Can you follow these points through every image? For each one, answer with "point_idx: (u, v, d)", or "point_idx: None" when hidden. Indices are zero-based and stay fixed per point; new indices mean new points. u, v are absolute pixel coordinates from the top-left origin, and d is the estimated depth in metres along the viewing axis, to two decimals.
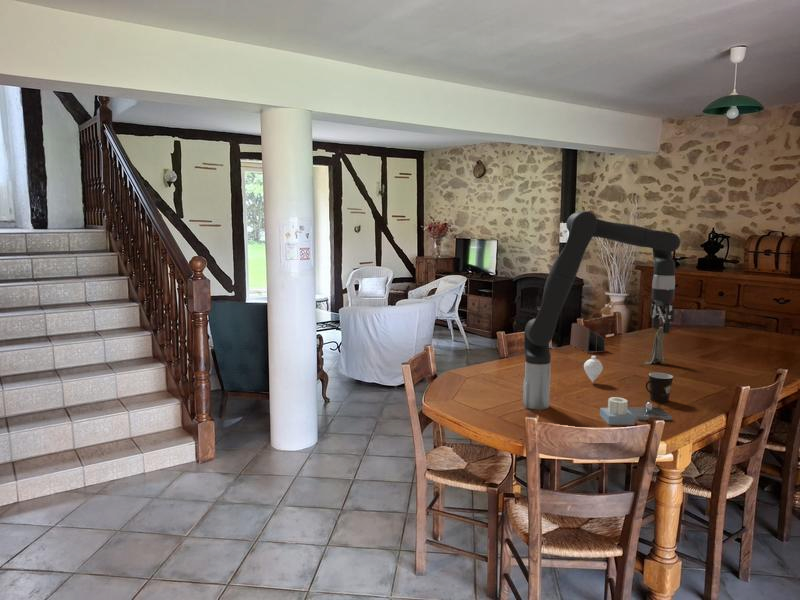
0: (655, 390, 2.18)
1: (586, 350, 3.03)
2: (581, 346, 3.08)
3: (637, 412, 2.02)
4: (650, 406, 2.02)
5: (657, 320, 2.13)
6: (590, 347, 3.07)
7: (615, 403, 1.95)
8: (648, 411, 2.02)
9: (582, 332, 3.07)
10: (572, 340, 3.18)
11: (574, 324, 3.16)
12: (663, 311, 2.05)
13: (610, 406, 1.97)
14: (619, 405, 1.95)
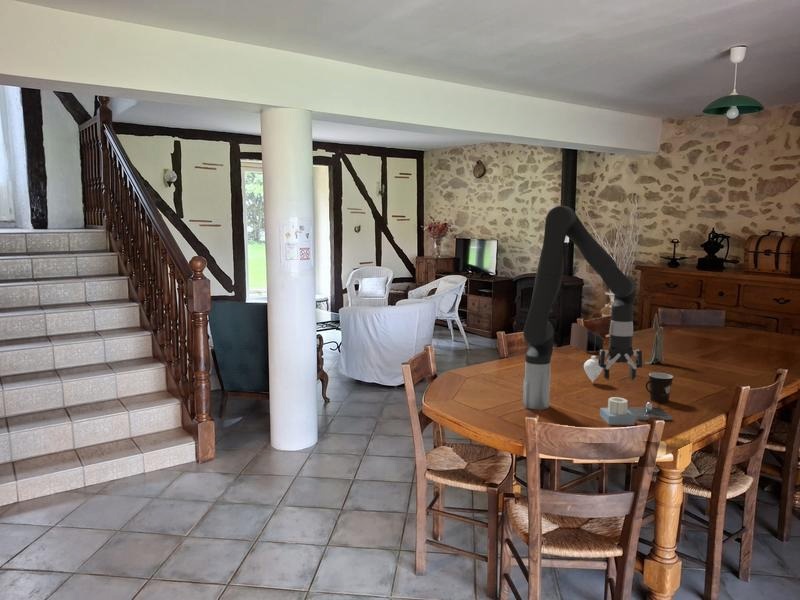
0: (655, 390, 2.18)
1: (585, 350, 3.03)
2: (580, 346, 3.08)
3: (637, 412, 2.02)
4: (650, 406, 2.02)
5: None
6: (589, 347, 3.06)
7: (615, 403, 1.95)
8: (648, 411, 2.02)
9: (581, 332, 3.07)
10: (572, 340, 3.18)
11: (574, 324, 3.16)
12: (629, 357, 1.95)
13: (610, 406, 1.97)
14: (619, 405, 1.95)
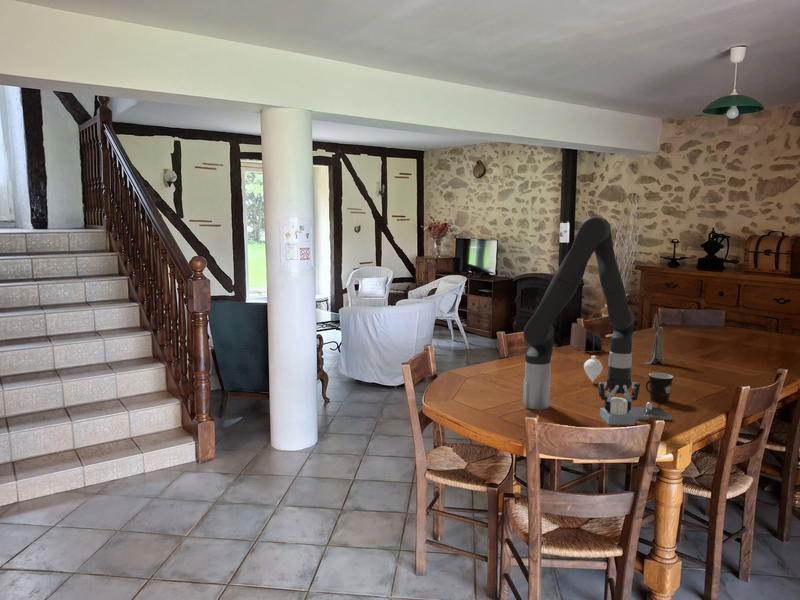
0: (655, 390, 2.18)
1: (583, 350, 3.03)
2: (579, 346, 3.08)
3: (637, 412, 2.02)
4: (650, 406, 2.02)
5: None
6: (588, 347, 3.06)
7: (615, 403, 1.95)
8: (648, 411, 2.02)
9: (580, 332, 3.07)
10: (572, 340, 3.19)
11: (574, 324, 3.16)
12: None
13: (610, 406, 1.97)
14: (619, 405, 1.95)
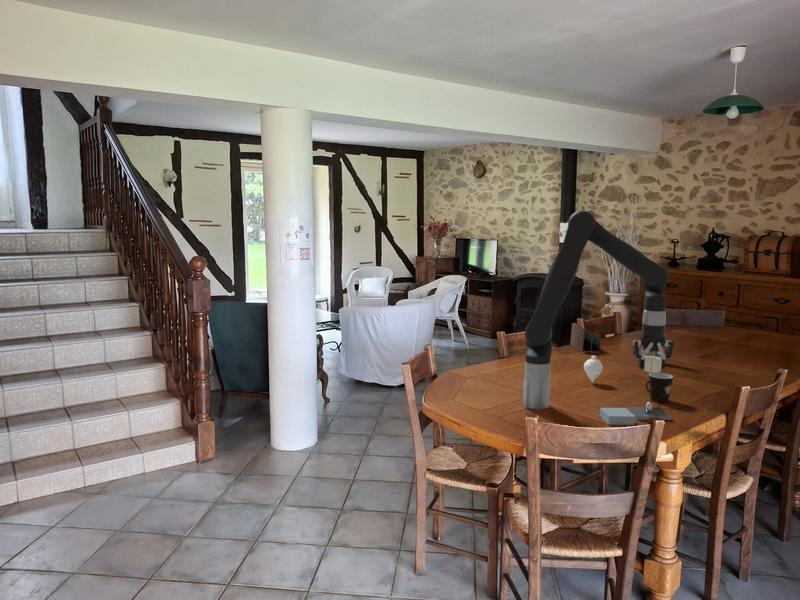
0: (655, 390, 2.18)
1: (581, 350, 3.03)
2: (578, 346, 3.09)
3: (637, 412, 2.02)
4: (650, 406, 2.02)
5: None
6: (586, 347, 3.06)
7: (649, 361, 1.98)
8: (648, 411, 2.02)
9: (579, 332, 3.08)
10: (572, 340, 3.19)
11: (573, 324, 3.17)
12: None
13: (644, 364, 2.00)
14: (653, 362, 1.98)
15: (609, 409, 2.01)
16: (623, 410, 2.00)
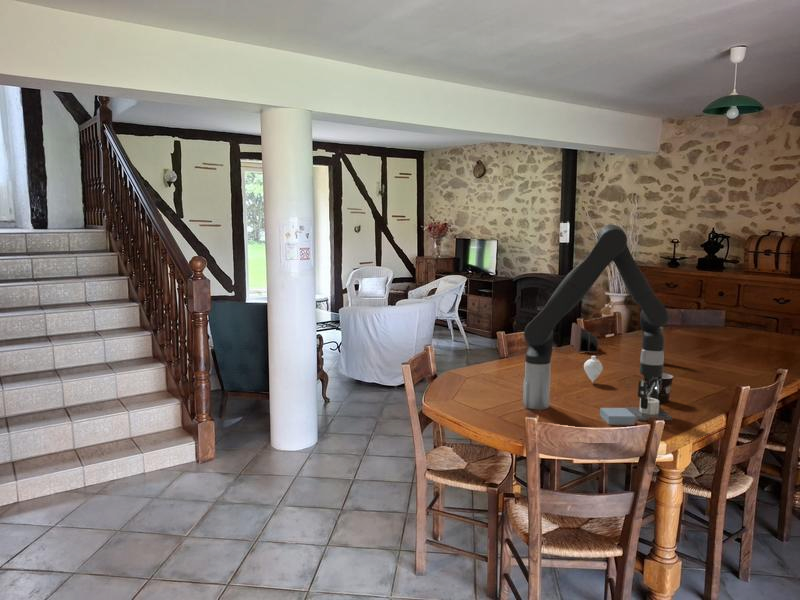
0: None
1: (578, 350, 3.03)
2: (576, 346, 3.09)
3: (637, 412, 2.02)
4: None
5: None
6: (584, 347, 3.06)
7: (654, 403, 2.00)
8: None
9: (577, 332, 3.08)
10: (571, 340, 3.19)
11: (573, 324, 3.17)
12: None
13: (648, 407, 2.00)
14: (657, 404, 2.00)
15: (609, 409, 2.01)
16: (623, 410, 2.00)
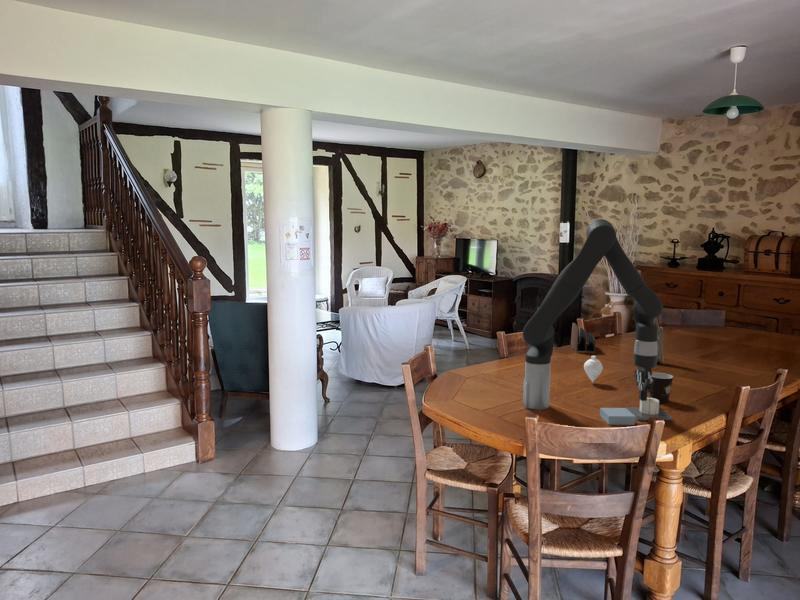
0: (655, 390, 2.18)
1: (575, 349, 3.04)
2: (574, 345, 3.09)
3: (637, 412, 2.02)
4: None
5: None
6: (582, 347, 3.07)
7: (654, 403, 2.00)
8: None
9: (575, 332, 3.08)
10: (571, 339, 3.20)
11: (573, 324, 3.17)
12: None
13: (648, 407, 2.00)
14: (657, 404, 2.00)
15: (609, 409, 2.01)
16: (623, 410, 2.00)
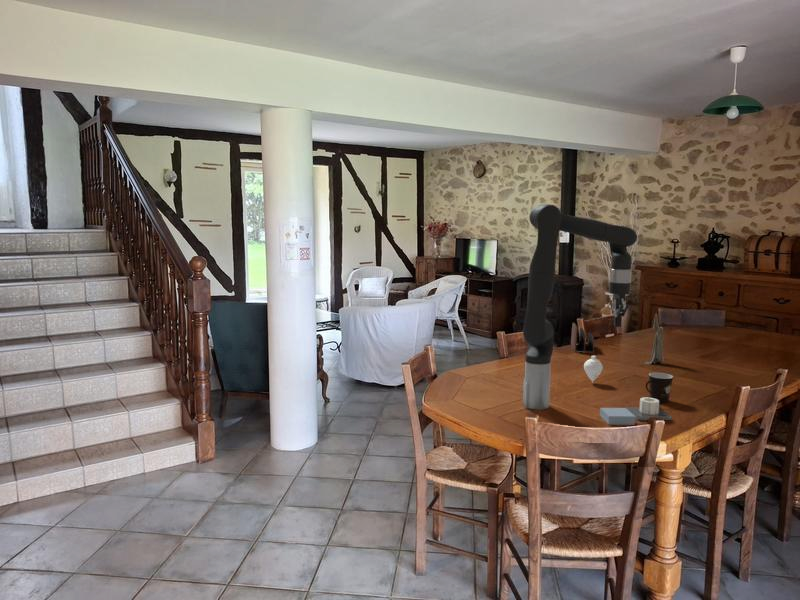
0: (655, 390, 2.18)
1: (574, 349, 3.04)
2: (573, 345, 3.10)
3: (637, 412, 2.02)
4: None
5: None
6: (581, 347, 3.07)
7: (654, 403, 2.00)
8: None
9: (574, 331, 3.09)
10: (571, 339, 3.20)
11: (573, 324, 3.18)
12: None
13: (648, 407, 2.00)
14: (657, 404, 2.00)
15: (609, 409, 2.01)
16: (623, 410, 2.00)
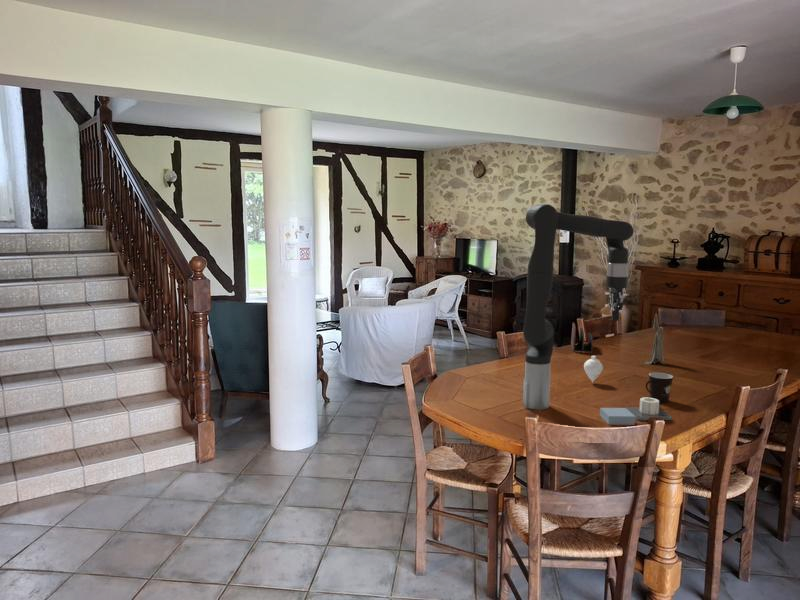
0: (655, 390, 2.18)
1: (573, 349, 3.05)
2: (572, 345, 3.10)
3: (637, 412, 2.02)
4: None
5: None
6: (580, 347, 3.07)
7: (654, 403, 2.00)
8: None
9: (573, 331, 3.09)
10: (571, 339, 3.20)
11: None
12: None
13: (648, 407, 2.00)
14: (657, 404, 2.00)
15: (609, 409, 2.01)
16: (623, 410, 2.00)
